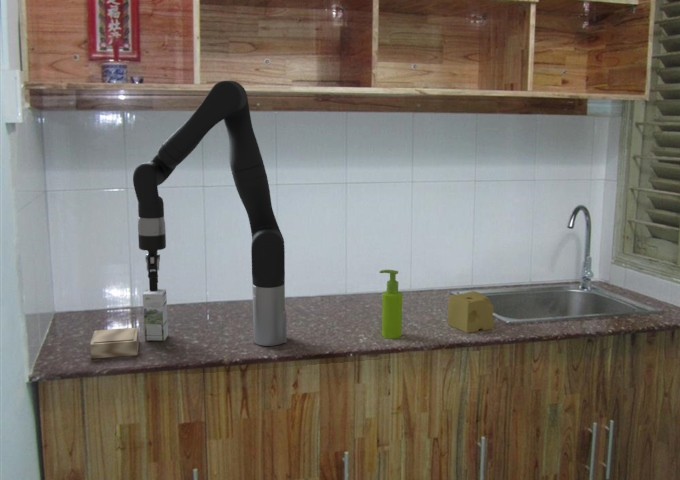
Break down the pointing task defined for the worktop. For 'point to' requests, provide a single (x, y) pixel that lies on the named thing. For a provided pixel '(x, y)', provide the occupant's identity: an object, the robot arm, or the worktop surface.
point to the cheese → (470, 312)
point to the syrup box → (155, 315)
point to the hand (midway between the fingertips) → (153, 287)
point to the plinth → (114, 343)
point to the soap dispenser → (391, 308)
